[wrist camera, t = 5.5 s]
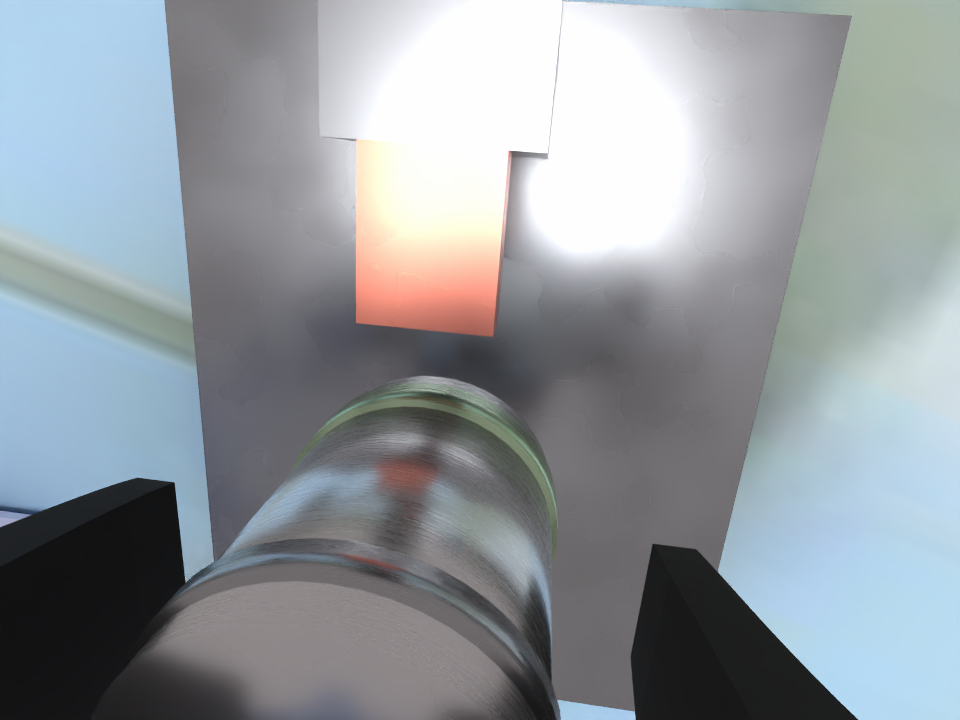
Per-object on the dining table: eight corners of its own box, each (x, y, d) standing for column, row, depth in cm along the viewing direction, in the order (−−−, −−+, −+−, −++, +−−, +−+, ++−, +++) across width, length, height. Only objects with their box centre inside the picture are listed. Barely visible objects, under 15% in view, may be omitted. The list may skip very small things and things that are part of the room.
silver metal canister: (318, 570, 12) (108, 933, 6) (313, 357, 10) (36, 580, 5) (543, 602, 12) (536, 1017, 6) (570, 385, 10) (598, 662, 4)
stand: (245, 613, 20) (90, 841, 13) (202, -1, 14) (-115, -154, 7) (671, 676, 18) (740, 961, 12) (817, 32, 13) (1111, -116, 6)
